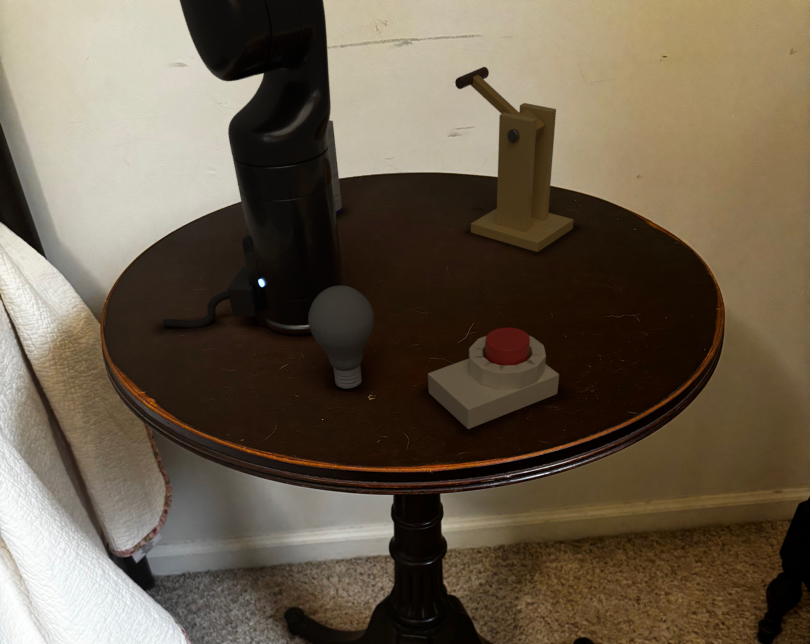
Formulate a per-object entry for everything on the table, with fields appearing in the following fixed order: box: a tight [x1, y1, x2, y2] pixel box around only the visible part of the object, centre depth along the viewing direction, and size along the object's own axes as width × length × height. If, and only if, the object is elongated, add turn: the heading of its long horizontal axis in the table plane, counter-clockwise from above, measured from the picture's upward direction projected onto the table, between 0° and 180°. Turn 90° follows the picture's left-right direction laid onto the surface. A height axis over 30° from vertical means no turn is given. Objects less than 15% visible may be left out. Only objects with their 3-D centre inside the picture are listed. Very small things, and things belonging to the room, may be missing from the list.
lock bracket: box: [470, 102, 575, 253], centre depth 96 cm, size 10×8×14 cm
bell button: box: [485, 327, 530, 366], centre depth 73 cm, size 4×4×2 cm
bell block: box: [427, 335, 560, 430], centre depth 74 cm, size 10×7×4 cm
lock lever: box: [454, 66, 545, 143], centre depth 93 cm, size 11×5×2 cm, turn 50°
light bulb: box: [308, 285, 375, 389], centre depth 74 cm, size 6×6×10 cm
